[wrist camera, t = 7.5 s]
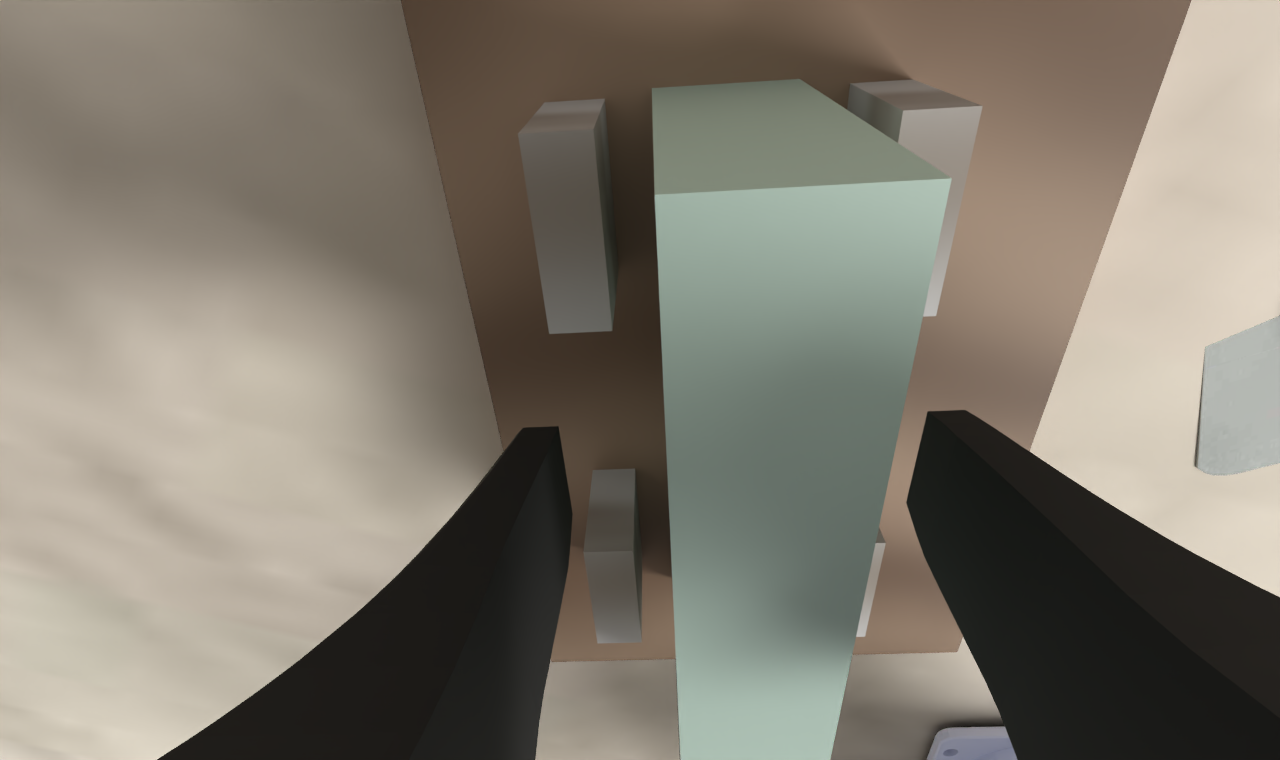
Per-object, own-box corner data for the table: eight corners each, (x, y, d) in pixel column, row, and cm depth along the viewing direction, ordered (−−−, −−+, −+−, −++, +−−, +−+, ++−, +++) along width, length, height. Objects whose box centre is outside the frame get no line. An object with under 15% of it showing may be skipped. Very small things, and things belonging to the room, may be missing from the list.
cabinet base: (940, 616, 19) (997, 739, 16) (556, 627, 20) (539, 748, 17) (1239, -316, 8) (1582, -488, 5) (374, -241, 9) (228, -358, 6)
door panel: (764, 575, 17) (815, 836, 11) (672, 578, 17) (682, 838, 12) (801, 79, 10) (953, 177, 5) (650, 88, 10) (652, 193, 5)
